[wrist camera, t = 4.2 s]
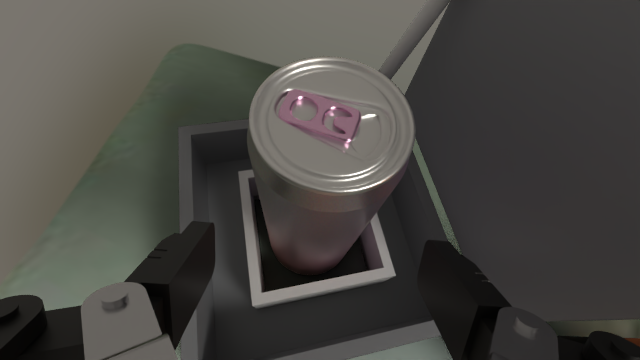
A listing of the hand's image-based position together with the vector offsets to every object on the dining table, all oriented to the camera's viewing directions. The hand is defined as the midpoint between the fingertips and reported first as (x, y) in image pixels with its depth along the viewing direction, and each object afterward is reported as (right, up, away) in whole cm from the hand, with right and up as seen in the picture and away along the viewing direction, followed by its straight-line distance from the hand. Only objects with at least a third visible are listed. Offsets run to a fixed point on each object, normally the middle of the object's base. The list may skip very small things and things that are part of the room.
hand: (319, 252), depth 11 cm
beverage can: (-1, -2, +12) cm, 12 cm away
